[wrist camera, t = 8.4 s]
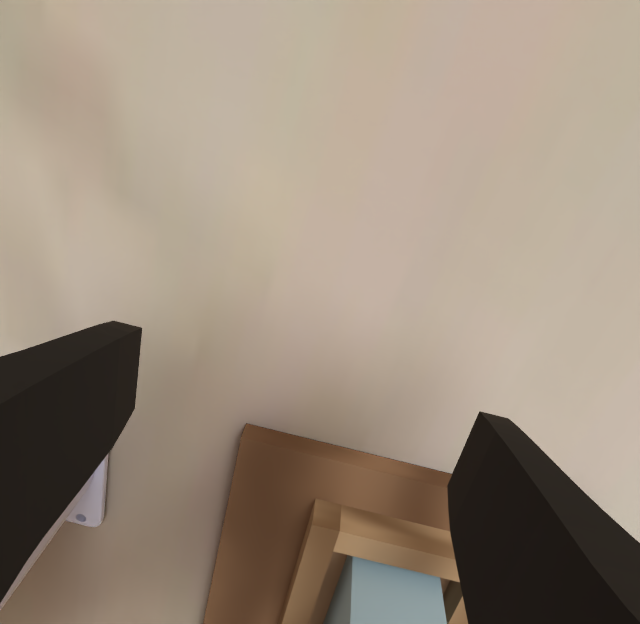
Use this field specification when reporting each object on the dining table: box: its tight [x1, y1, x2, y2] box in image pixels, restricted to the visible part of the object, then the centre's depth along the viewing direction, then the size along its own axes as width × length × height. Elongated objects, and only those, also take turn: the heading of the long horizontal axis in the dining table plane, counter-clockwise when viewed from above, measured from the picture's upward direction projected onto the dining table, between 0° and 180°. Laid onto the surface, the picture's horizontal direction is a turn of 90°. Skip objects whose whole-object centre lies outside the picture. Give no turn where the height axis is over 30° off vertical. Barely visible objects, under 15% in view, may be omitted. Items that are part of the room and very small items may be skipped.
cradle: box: [203, 424, 468, 624], centre depth 25 cm, size 16×18×2 cm
